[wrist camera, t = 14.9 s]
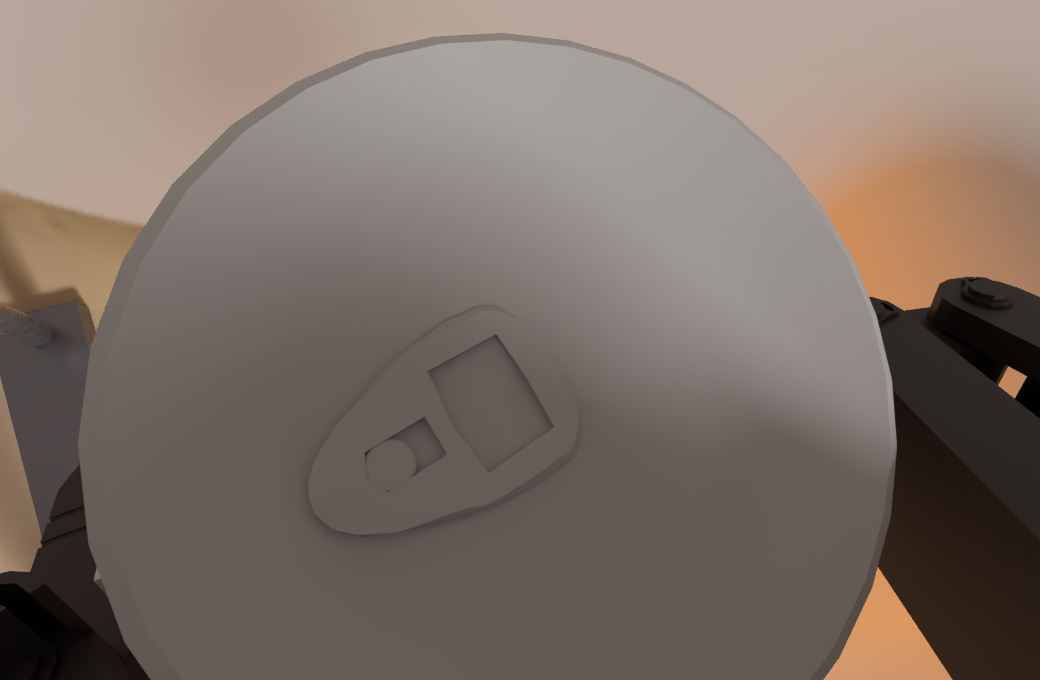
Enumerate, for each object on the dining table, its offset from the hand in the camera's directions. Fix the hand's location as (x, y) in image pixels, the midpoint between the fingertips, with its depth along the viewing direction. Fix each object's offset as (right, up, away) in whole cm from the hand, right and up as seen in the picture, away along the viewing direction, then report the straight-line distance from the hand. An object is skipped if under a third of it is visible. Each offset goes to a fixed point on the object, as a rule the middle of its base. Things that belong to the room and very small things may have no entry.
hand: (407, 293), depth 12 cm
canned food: (0, -4, +3) cm, 5 cm away
